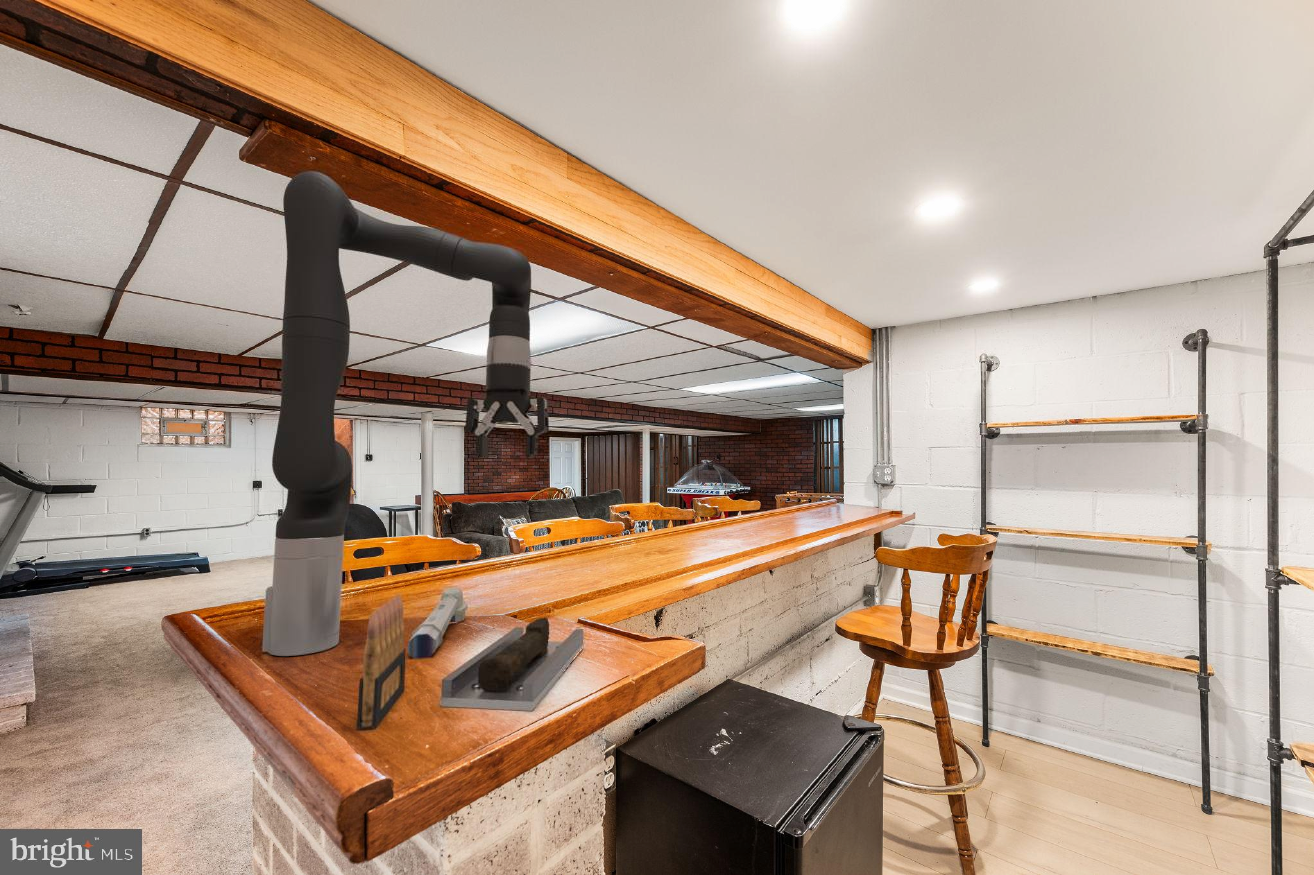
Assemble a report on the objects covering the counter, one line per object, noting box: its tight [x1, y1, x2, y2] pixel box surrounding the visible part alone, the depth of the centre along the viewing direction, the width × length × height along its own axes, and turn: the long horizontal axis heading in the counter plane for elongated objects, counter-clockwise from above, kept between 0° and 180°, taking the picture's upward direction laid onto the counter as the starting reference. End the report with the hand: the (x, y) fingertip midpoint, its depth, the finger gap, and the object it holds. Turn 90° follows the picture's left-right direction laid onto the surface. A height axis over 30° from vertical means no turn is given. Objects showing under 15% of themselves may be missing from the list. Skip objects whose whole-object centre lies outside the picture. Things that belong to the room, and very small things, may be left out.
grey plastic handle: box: [407, 586, 468, 659], centre depth 91 cm, size 5×7×25 cm
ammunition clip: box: [356, 593, 407, 731], centre depth 62 cm, size 11×2×12 cm, turn 10°
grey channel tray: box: [440, 626, 585, 712], centre depth 73 cm, size 11×23×3 cm, turn 174°
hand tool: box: [478, 617, 550, 691], centre depth 73 cm, size 19×4×5 cm, turn 169°
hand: (506, 457), depth 93 cm, fingers open, 8 cm apart
